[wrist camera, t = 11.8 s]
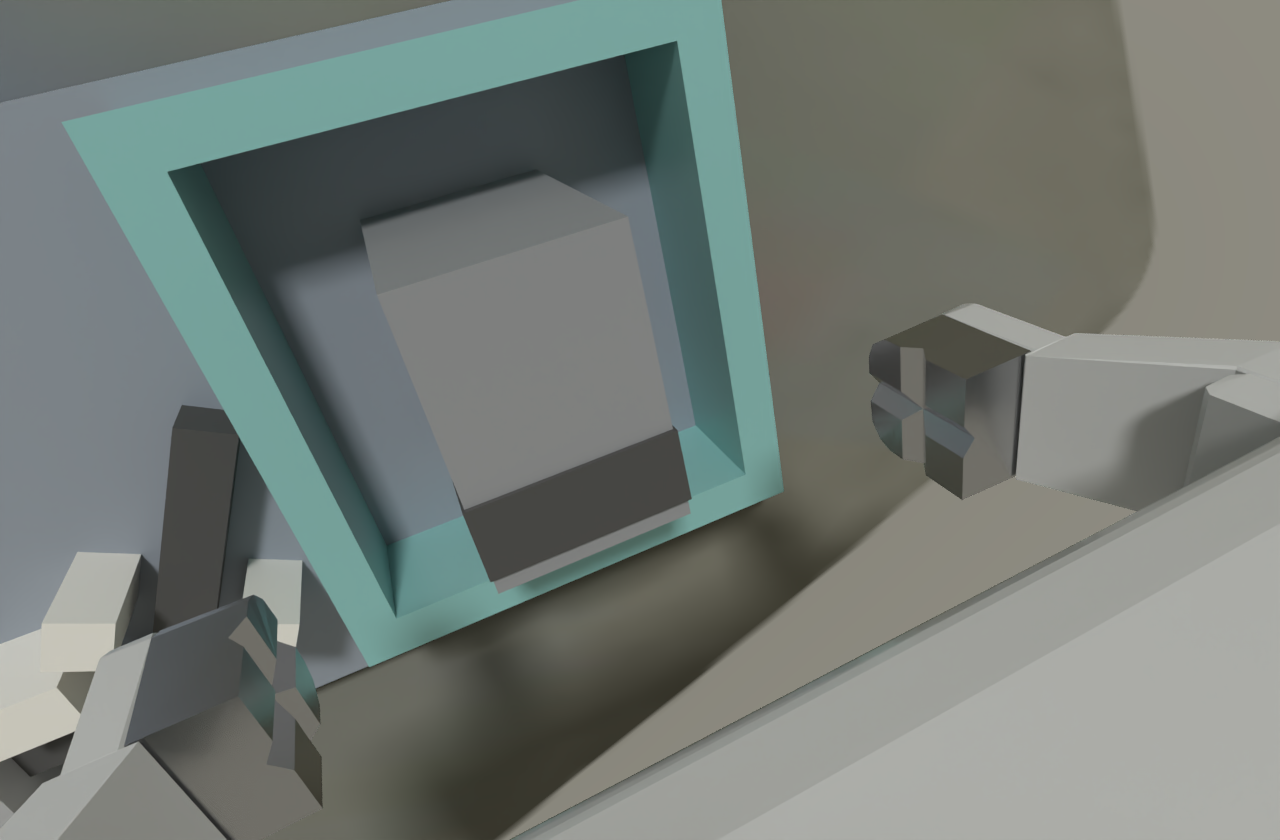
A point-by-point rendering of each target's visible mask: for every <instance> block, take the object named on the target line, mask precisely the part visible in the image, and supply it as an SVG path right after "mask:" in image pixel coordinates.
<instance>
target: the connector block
mask: <svg viewBox="0 0 1280 840" xmlns="http://www.w3.org/2000/svg"><path fill="white" fill-rule="evenodd" d="M360 223H361V227H362V232H363V236H364V241H365V245H366V249H367V254H368V258H369V262H370V267H371V271H372V276H373V280H374V284H375V289H376V293H377V296H378V299H379V301H380V304H381V306H382V309H383V311H384V314H385V316H386V319H387V321H388V323H389V326H390V328H391V331H392V333H393V336H394V338H395V341H396V343H397V346H398V348H399V351H400V353H401V355H402V358H403V360H404V363H405V365H406V368H407V370H408V373H409V375H410V378H411V380H412V382H413V385H414V387H415V390H416V392H417V395H418V397H419V400H420V402H421V405H422V407H423V410H424V412H425V414H426V417H427V419H428V422H429V424H430V427H431V429H432V432H433V434H434V437H435V439H436V442H437V444H438V446H439V449H440V451H441V454H442V456H443V459H444V461H445V464H446V466H447V469H448V471H449V473H450V476H451V478H452V482H453V485H454V488H455V491H456V495H457V498H458V501H459V504H460V508H461V511H462V514H463V517H464V519H465V521H466V524H467V526H468V529H469V531H470V534H471V536H472V539H473V541H474V543H475V546H476V548H477V551H478V553H479V556H480V558H481V560H482V563H483V565H484V568H485V570H486V573H487V575H488V578H489V580H490V582H494V584H495V587H496V589H497V591H498V594H500V593H502V592H504V591H507V590H509V589H512V588H514V587H516V586H519V585H521V584H524V583H526V582H528V581H531V580H533V579H535V578H538V577H540V576H543V575H545V574H547V573H550V572H552V571H555V570H557V569H559V568H562V567H564V566H567V565H569V564H571V563H574V562H576V561H578V560H581V559H583V558H586V557H588V556H590V555H593V554H595V553H598V552H600V551H602V550H605V549H607V548H610V547H612V546H614V545H617V544H619V543H621V542H624V541H626V540H629V539H631V538H633V537H636V536H638V535H641V534H643V533H645V532H648V531H650V530H653V529H655V528H657V527H660V526H662V525H664V524H667V523H669V522H672V521H674V520H676V519H679V518H681V517H684V516H686V515H688V514H691V512H690V507H689V502H688V501H689V500H691V499H692V497H691V492H690V488H689V483H688V478H687V473H686V468H685V464H684V459H683V454H682V449H681V444H680V439H679V435H678V430H677V429H676V428H675V427H674V426H673V425H672V422H671V417H670V413H669V408H668V403H667V398H666V394H665V389H664V384H663V379H662V375H661V370H660V365H659V360H658V356H657V351H656V346H655V342H654V337H653V332H652V327H651V323H650V318H649V313H648V308H647V304H646V299H645V294H644V290H643V285H642V280H641V275H640V271H639V266H638V261H637V256H636V252H635V247H634V242H633V237H632V233H631V228H630V223H629V219H628V216H626V215H624V214H622V213H620V212H618V211H616V210H614V209H612V208H610V207H608V206H606V205H604V204H602V203H601V202H599V201H597V200H595V199H593V198H591V197H589V196H587V195H585V194H583V193H581V192H579V191H577V190H575V189H573V188H571V187H569V186H567V185H565V184H563V183H561V182H560V181H558V180H556V179H554V178H552V177H550V176H548V175H546V174H544V173H542V172H540V171H538V170H532V171H529V172H525V173H522V174H518V175H515V176H512V177H508V178H505V179H501V180H498V181H494V182H491V183H487V184H484V185H480V186H477V187H473V188H470V189H466V190H463V191H459V192H456V193H452V194H449V195H445V196H442V197H438V198H435V199H431V200H428V201H425V202H421V203H418V204H414V205H411V206H407V207H404V208H400V209H397V210H393V211H390V212H386V213H383V214H379V215H376V216H372V217H369V218H365V219H362V220H360Z"/></svg>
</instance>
